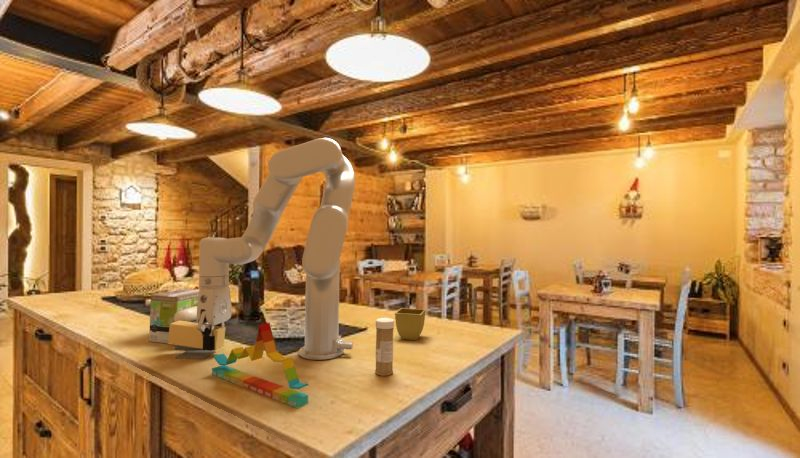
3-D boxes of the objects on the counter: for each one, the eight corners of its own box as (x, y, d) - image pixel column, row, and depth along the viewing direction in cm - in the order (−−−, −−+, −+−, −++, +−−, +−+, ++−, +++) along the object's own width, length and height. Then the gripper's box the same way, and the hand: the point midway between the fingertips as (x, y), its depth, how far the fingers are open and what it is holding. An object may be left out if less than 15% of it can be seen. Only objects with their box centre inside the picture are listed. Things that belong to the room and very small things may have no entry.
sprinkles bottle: (374, 370, 101) (375, 317, 101) (392, 369, 102) (393, 317, 102) (375, 376, 97) (376, 321, 97) (394, 376, 97) (394, 321, 97)
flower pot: (393, 340, 128) (394, 312, 128) (400, 333, 137) (400, 307, 137) (420, 342, 126) (421, 314, 126) (425, 335, 135) (425, 309, 135)
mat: (215, 352, 114) (215, 350, 114) (203, 359, 108) (203, 357, 108) (189, 351, 114) (189, 349, 114) (175, 357, 108) (175, 356, 108)
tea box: (176, 344, 121) (177, 296, 121) (148, 342, 123) (148, 294, 123) (209, 332, 135) (210, 288, 135) (184, 330, 137) (184, 287, 137)
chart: (211, 376, 96) (211, 314, 96) (223, 372, 99) (224, 312, 99) (295, 410, 79) (296, 334, 79) (308, 404, 82) (309, 331, 82)
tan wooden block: (223, 346, 112) (225, 327, 112) (215, 350, 108) (217, 330, 108) (177, 339, 114) (179, 320, 114) (167, 343, 110) (169, 323, 110)
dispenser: (190, 340, 125) (191, 305, 125) (221, 342, 124) (221, 306, 124) (172, 348, 116) (172, 311, 116) (204, 350, 115) (205, 312, 115)
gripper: (209, 286, 102) (208, 358, 102) (241, 278, 118) (241, 340, 118) (182, 285, 103) (181, 356, 103) (217, 278, 119) (217, 339, 119)
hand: (213, 347), depth 110 cm, fingers closed on tan wooden block, 3 cm apart
